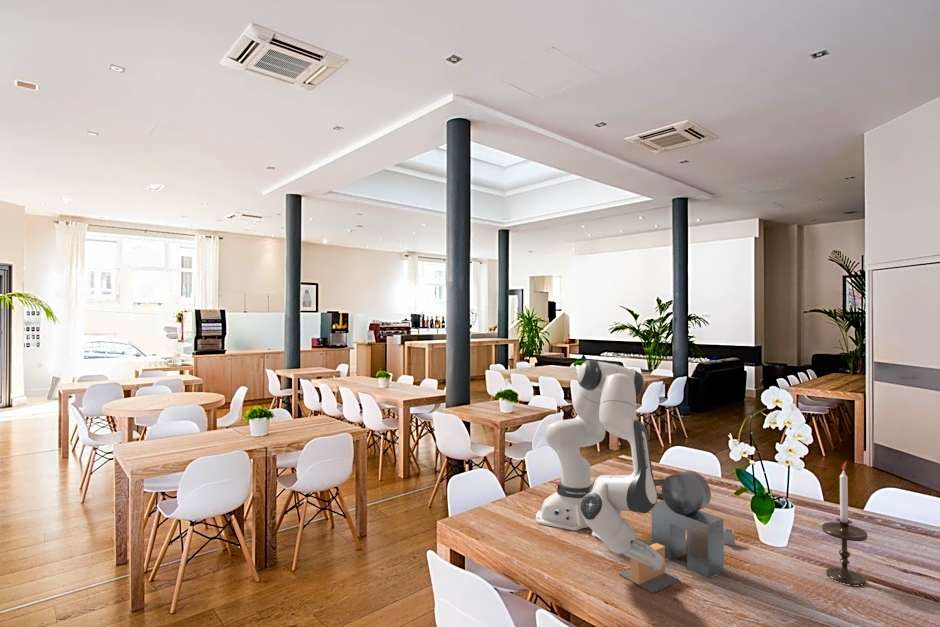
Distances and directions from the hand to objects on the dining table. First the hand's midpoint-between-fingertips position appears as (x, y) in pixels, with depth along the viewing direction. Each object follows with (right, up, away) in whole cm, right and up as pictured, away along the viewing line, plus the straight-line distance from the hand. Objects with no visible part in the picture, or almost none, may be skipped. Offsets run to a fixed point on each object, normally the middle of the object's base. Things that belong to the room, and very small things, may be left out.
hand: (641, 561), depth 150 cm
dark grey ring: (+36, -7, +74) cm, 83 cm away
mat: (+3, -6, +2) cm, 7 cm away
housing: (+18, -6, +12) cm, 22 cm away
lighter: (+36, -6, +24) cm, 44 cm away
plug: (+2, -5, +2) cm, 6 cm away
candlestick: (+61, -6, +1) cm, 61 cm away
